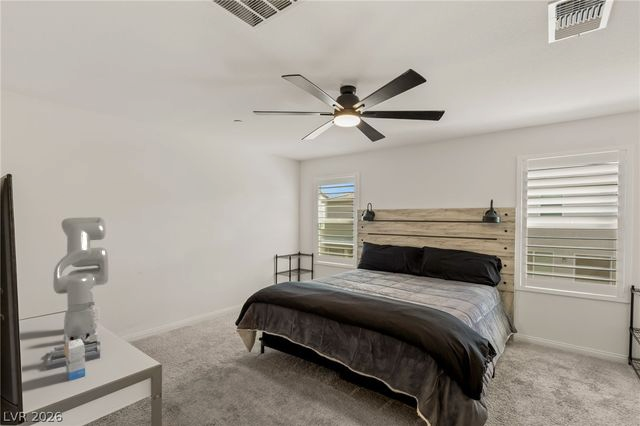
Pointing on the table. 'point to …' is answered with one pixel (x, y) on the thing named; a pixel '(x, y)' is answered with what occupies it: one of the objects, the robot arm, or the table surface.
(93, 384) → the table surface
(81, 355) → the ink box
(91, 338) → the block
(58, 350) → the console
